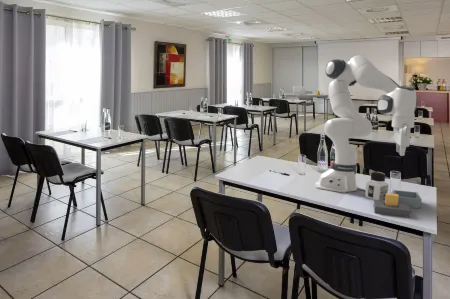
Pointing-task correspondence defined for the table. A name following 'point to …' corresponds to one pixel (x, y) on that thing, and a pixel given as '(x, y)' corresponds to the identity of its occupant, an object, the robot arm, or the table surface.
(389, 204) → the fuse
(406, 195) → the parts tray
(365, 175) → the table surface
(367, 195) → the container
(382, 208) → the block
